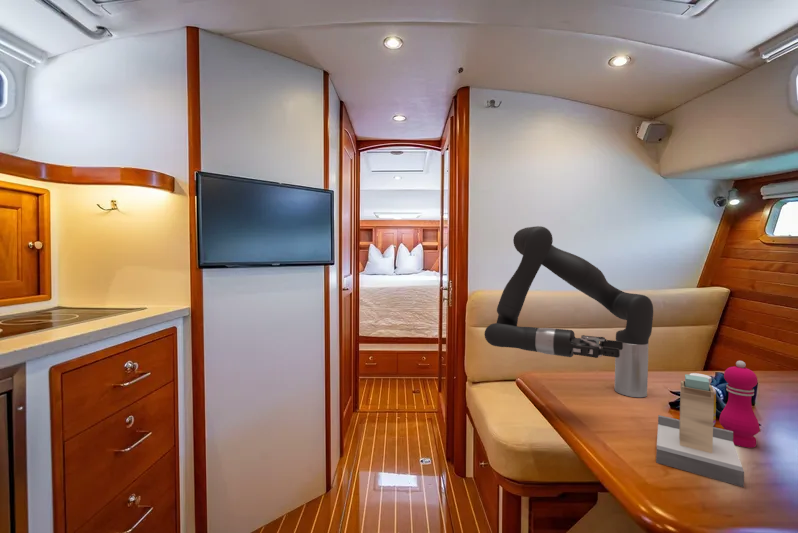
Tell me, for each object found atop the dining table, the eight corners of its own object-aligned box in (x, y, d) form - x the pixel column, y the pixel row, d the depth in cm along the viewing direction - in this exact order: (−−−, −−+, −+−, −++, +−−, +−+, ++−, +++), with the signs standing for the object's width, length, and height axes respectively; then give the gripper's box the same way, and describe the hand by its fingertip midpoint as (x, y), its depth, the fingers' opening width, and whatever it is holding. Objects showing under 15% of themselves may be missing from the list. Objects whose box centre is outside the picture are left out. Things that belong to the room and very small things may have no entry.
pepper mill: (767, 450, 85) (770, 366, 84) (731, 447, 86) (734, 364, 86) (744, 435, 92) (747, 357, 91) (711, 432, 93) (714, 356, 93)
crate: (679, 435, 85) (680, 380, 85) (709, 443, 82) (711, 385, 82) (679, 445, 81) (681, 386, 81) (712, 453, 78) (714, 392, 77)
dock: (657, 434, 92) (658, 415, 92) (732, 452, 84) (732, 431, 84) (656, 462, 79) (656, 440, 79) (743, 487, 71) (744, 462, 71)
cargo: (684, 387, 84) (685, 374, 84) (707, 390, 82) (707, 377, 82) (685, 392, 81) (685, 378, 81) (708, 396, 78) (709, 382, 78)
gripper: (548, 333, 98) (618, 340, 88) (560, 324, 109) (623, 330, 99) (548, 360, 98) (618, 371, 88) (560, 349, 109) (623, 357, 100)
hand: (621, 349), depth 94 cm, fingers open, 8 cm apart
